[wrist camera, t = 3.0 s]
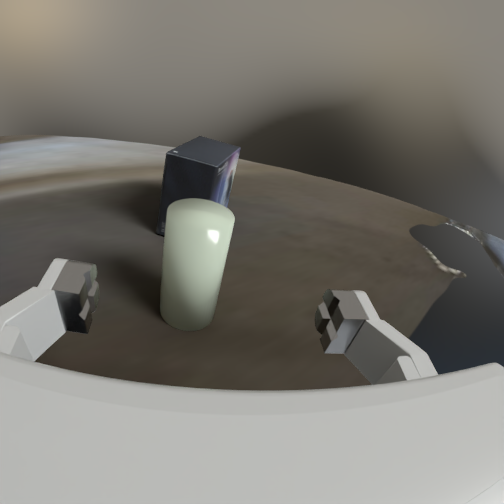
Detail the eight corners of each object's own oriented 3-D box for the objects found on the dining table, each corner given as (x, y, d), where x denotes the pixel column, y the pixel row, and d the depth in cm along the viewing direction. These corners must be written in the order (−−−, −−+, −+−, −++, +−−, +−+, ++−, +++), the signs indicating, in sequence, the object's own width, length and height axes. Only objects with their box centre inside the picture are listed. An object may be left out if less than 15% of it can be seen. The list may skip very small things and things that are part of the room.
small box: (204, 250, 36) (219, 165, 31) (154, 234, 37) (162, 151, 31) (228, 214, 45) (243, 145, 40) (186, 202, 46) (197, 134, 40)
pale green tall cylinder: (157, 327, 25) (162, 226, 20) (162, 289, 29) (171, 194, 24) (214, 333, 26) (236, 236, 21) (213, 295, 30) (232, 203, 25)
